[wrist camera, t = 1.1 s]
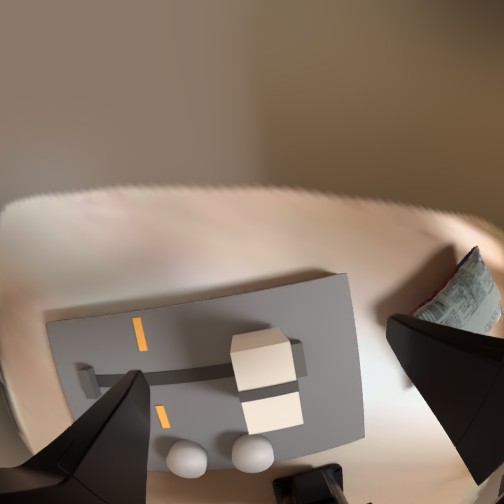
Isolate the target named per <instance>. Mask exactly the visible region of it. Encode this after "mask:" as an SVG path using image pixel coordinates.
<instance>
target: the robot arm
mask: <svg viewBox="0 0 504 504" xmlns="http://www.w3.org/2000/svg"><path fill="white" fill-rule="evenodd" d="M386 338H387V341H388V343H389V344H390V346H391V348H392V350H393V351H394V353H395V355H396V357H397V359H398V360H399V362H400V364H401V366H402V368H403V369H404V371H405V372H406V374H407V375H408V377H409V378H410V379H411V381H412V382H413V384H414V385H415V387H416V388H417V390H418V391H419V392H420V394H421V395H422V397H423V398H424V400H425V401H426V403H427V404H428V406H429V407H430V409H431V410H432V412H433V413H434V415H435V416H436V418H437V419H438V421H439V422H440V424H441V426H442V427H443V429H444V430H445V432H446V433H447V435H448V437H449V438H450V440H451V441H452V443H453V445H454V446H455V448H456V450H457V451H458V453H459V455H460V456H461V458H462V460H463V461H464V463H465V465H466V466H467V468H468V470H469V472H470V473H471V475H472V477H473V479H474V480H475V482H476V484H477V485H478V486H479V485H480V484H482V483H483V482H484V481H485V480H486V479H487V478H489V477H490V476H491V475H492V474H493V473H494V472H495V471H496V470H497V469H498V468H499V467H500V466H502V465H503V464H504V339H503V338H497V337H492V336H487V335H482V334H478V333H474V332H470V331H466V330H462V329H458V328H454V327H450V326H446V325H442V324H438V323H434V322H430V321H426V320H422V319H418V318H414V317H411V316H407V315H403V314H399V313H397V314H394V315H391V316H389V317H388V320H387V329H386ZM150 429H151V413H150V387H149V385H148V383H147V381H146V379H145V376H144V374H143V372H142V371H141V370H139V369H137V370H129V371H128V372H127V373H126V374H125V375H124V376H123V377H122V378H121V379H120V380H119V381H117V382H116V383H115V384H114V385H113V386H112V387H111V388H110V389H109V390H108V391H107V392H106V393H105V394H104V395H103V396H101V397H100V398H99V399H98V400H97V401H96V402H95V403H94V404H93V405H92V406H91V407H90V408H89V409H88V410H87V411H85V412H84V413H83V414H82V415H81V416H80V417H79V418H78V419H77V420H76V421H75V422H74V423H73V424H72V425H71V426H69V427H68V428H67V429H66V430H65V431H64V432H63V433H62V434H61V435H59V436H58V437H57V438H56V439H55V440H54V441H52V442H51V443H50V444H49V445H47V446H46V447H45V448H44V449H42V450H41V451H40V452H38V453H37V454H36V455H34V456H33V457H32V458H30V459H29V460H28V461H26V462H25V463H23V464H22V465H20V466H17V467H12V468H0V504H146V480H147V464H148V451H149V440H150ZM337 468H338V469H337ZM335 469H336V470H335ZM277 483H279V484H277ZM272 485H273V489H274V493H275V497H276V500H277V504H348V502H347V500H346V498H345V496H344V494H343V475H342V467H341V465H339V464H336V465H333V466H329V467H326V468H322V469H319V470H315V471H311V472H307V473H303V474H299V475H294V476H290V477H285V478H280V479H275V480H274V481H273V482H272ZM368 504H372V503H371V502H370V503H368ZM492 504H504V475H503V476H502V480H501V485H500V490H499V495H498V498H497V499H496V500H495V501H494V502H493V503H492Z"/></svg>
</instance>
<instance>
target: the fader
mask: <svg viewBox="0 0 504 504" xmlns="http://www.w3.org/2000/svg"><path fill="white" fill-rule="evenodd" d="M230 355H231V360H232V364H233V369H234V373H235V378H236V382H237V386H238V391H239V392H238V396H239V400H240V403H242V408H243V412H244V416H245V420H246V424H247V428H248V432H249V435H250V434H256V433H262V432H267V431H273V430H278V429H283V428H287V427H292V426H296V425H300V424H304V423H303V417H302V411H301V405H300V398H299V392H298V391H300V390H299V384H298V380H296V374H295V368H294V363H293V357H292V351H291V345H290V341H289V340H288V338H287V337H286V336H285V335H284V333H283V332H282V331H281V330H280V328H279V327H275V328H270V329H265V330H260V331H254V332H249V333H244V334H238V335H233V337H232V344H231V350H230Z"/></svg>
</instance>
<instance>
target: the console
mask: <svg viewBox="0 0 504 504" xmlns="http://www.w3.org/2000/svg"><path fill="white" fill-rule="evenodd" d="M275 327H279V328H280V330H281V331H282V332H283V333H284V335H285V336H286V337H287V338H288V340H289V341H290V345H291V351H292V357H293V363H294V368H295V374H296V380H298V384H299V390H300V391H298V392H299V398H300V405H301V411H302V417H303V423H304V424H300V425H296V426H292V427H287V428H283V429H278V430H273V431H267V432H262V433H256V434H250V435H249V432H248V428H247V424H246V420H245V416H244V412H243V408H242V403H240V400H239V396H238V392H239V391H238V386H237V382H236V378H235V373H234V369H233V364H232V360H231V355H230V350H231V344H232V337H233V335H238V334H244V333H249V332H254V331H260V330H265V329H270V328H275ZM46 328H47V333H48V338H49V342H50V346H51V350H52V354H53V358H54V362H55V366H56V369H57V373H58V376H59V379H60V382H61V386H62V389H63V392H64V395H65V397H66V400H67V403H68V406H69V408H70V411H71V414H72V416H73V419H74V421H76V420H77V419H78V418H79V417H80V416H81V415H82V414H83V413H84V412H85V411H87V410H88V409H89V408H90V407H91V406H92V405H93V404H94V403H95V402H96V401H97V400H98V399H99V398H100V397H101V396H103V395H104V394H105V393H106V392H107V391H108V390H109V389H110V388H111V387H112V386H113V385H114V384H115V383H116V382H117V381H119V380H120V379H121V378H122V377H123V376H124V375H125V374H126V373H127V372H128V371H129V370H137V369H139V370H141V371H142V372H143V374H144V376H145V379H146V381H147V383H148V385H149V387H150V413H151V429H150V440H149V451H148V464H147V471H158V472H173V473H174V474H176V475H178V476H180V477H184V478H197V477H200V476H202V475H203V474H204V473H205V471H212V470H224V469H234V468H237V469H239V470H241V471H243V472H247V473H258V472H262V471H264V470H266V469H268V468H269V467H270V466H271V465H272V463H274V462H280V461H284V460H289V459H294V458H298V457H302V456H306V455H310V454H314V453H318V452H321V451H325V450H328V449H332V448H335V447H338V446H341V445H344V444H348V443H350V442H353V441H356V440H359V439H362V438H365V432H364V409H363V394H362V382H361V371H360V361H359V352H358V343H357V335H356V328H355V320H354V314H353V307H352V301H351V295H350V289H349V283H348V277H347V273H341V274H334V275H330V276H325V277H320V278H316V279H311V280H306V281H302V282H297V283H292V284H287V285H282V286H277V287H272V288H267V289H262V290H257V291H251V292H246V293H241V294H235V295H230V296H224V297H218V298H213V299H207V300H201V301H195V302H189V303H183V304H177V305H171V306H164V307H158V308H151V309H144V310H137V311H130V312H123V313H116V314H108V315H100V316H92V317H84V318H76V319H67V320H58V321H53V322H47V323H46Z"/></svg>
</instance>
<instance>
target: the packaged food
mask: <svg viewBox="0 0 504 504" xmlns="http://www.w3.org/2000/svg"><path fill="white" fill-rule="evenodd" d="M500 299H501V296H500V293H499V291H498V288H497V286H496V284H495V283H494V280H493V278H492V276H491V274H490V273H489V271H488V269H487V267H486V265H485V263H484V262H483V260H482V257H481V254H480V251H479V248H478V246H476V247H474V248H472V249H471V251H470V252H469V253H468V254H467V255H466V256H465V257H464V258H463V260H462V261H461V262H460V263H459V264H458V266H457V267H456V268H455V269H454V270H453V272H452V273H451V275H450V276H449V277H448V278H447V279H446V280H445V282H444V283H443V285H442V286H441V287H440V288H438V289H437V290H436V291H435V292H434V293H433V294H432V295H430V296H429V297H428V298H427V299H426V300H425V301H424V302H422V303H421V304H420V305H419V306H418V308H416V309H415V310H413V312H411V313H410V314H409V315H408V316H411V317H414V318H418V319H422V320H426V321H430V322H434V323H438V324H442V325H446V326H450V327H454V328H458V329H462V330H466V331H470V332H474V333H478V334H482V335H488V333H489V332H490V330H491V328H492V327H493V326H494V325H495V324H496V323H497V322H498V320H499V318H500V316H501V315H504V310H503V308H502V306H501V304H500V303H499V301H500Z"/></svg>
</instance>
